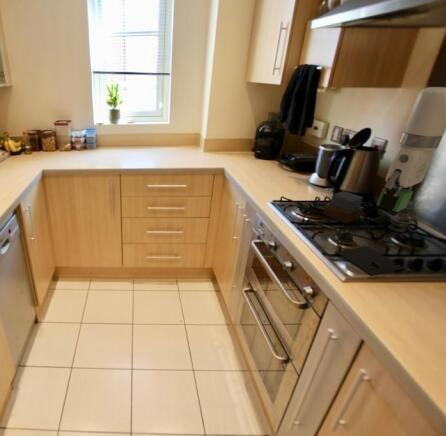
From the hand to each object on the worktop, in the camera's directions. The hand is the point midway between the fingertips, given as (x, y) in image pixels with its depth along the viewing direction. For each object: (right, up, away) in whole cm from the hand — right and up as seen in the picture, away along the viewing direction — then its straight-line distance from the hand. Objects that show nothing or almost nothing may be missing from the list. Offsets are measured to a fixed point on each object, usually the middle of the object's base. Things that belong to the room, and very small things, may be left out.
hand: (391, 205), depth 88 cm
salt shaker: (+24, -7, +25) cm, 36 cm away
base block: (+10, -3, +34) cm, 36 cm away
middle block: (+10, +1, +32) cm, 34 cm away
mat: (+1, -17, +9) cm, 19 cm away
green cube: (0, 0, 0) cm, 0 cm away
